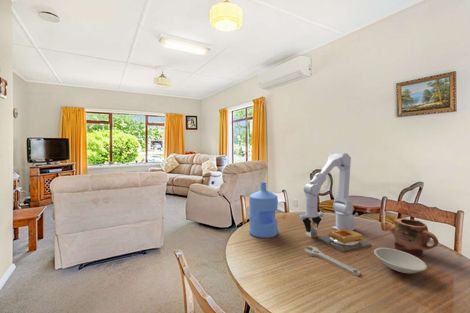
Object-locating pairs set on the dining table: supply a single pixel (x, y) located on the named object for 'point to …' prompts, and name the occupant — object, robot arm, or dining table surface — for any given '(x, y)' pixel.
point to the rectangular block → (312, 230)
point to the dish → (400, 260)
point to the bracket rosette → (345, 240)
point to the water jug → (263, 213)
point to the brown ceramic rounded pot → (412, 236)
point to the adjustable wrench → (331, 260)
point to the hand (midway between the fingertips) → (311, 231)
